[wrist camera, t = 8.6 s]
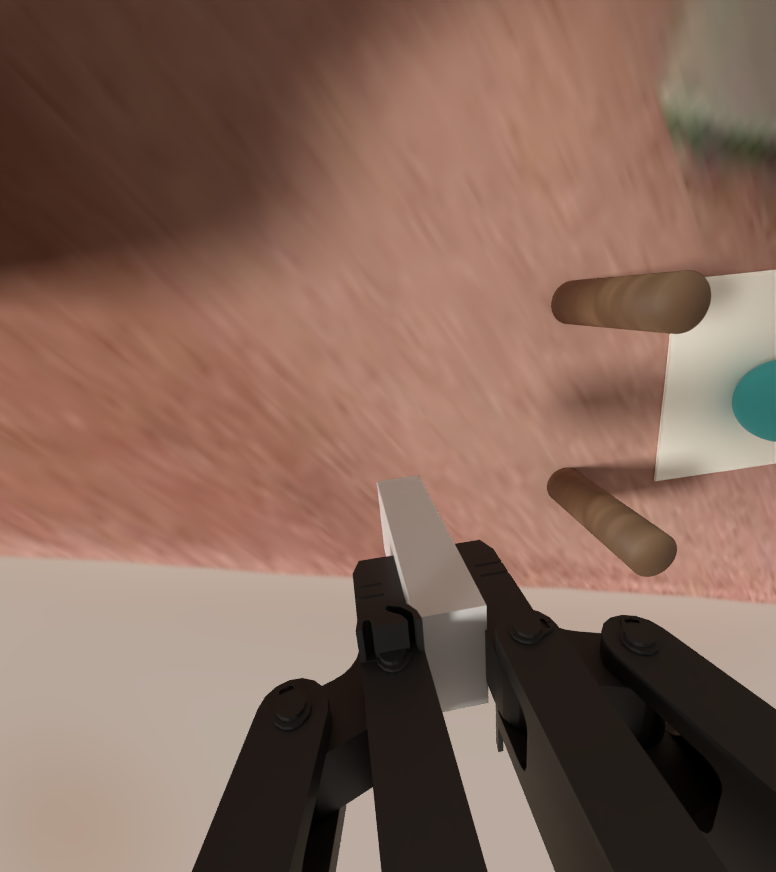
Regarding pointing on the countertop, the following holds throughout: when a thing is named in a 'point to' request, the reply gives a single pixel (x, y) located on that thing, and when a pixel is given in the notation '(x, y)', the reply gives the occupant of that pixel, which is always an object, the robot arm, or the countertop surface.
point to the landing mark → (717, 380)
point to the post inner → (635, 302)
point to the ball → (757, 401)
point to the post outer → (613, 523)
